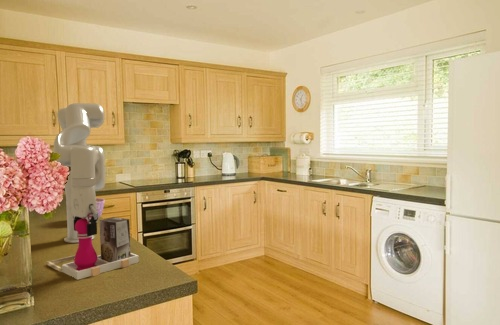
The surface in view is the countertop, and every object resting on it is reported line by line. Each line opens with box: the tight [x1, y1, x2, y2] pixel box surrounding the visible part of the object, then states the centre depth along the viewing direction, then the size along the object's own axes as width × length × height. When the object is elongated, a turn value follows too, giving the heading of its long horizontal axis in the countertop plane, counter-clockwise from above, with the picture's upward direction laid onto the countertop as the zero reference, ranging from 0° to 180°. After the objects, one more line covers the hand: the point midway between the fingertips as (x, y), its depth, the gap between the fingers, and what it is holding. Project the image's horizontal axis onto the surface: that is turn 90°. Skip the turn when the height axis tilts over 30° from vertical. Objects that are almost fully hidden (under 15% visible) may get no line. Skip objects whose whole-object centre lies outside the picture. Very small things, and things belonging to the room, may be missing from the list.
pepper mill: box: [73, 217, 98, 271], centre depth 127 cm, size 7×7×20 cm
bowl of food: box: [90, 197, 106, 219], centre depth 209 cm, size 20×20×12 cm
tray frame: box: [46, 254, 76, 273], centre depth 136 cm, size 11×11×1 cm
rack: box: [61, 252, 140, 280], centre depth 132 cm, size 13×22×2 cm, turn 139°
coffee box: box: [98, 216, 131, 262], centre depth 136 cm, size 9×6×16 cm
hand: (85, 232), depth 129 cm, fingers open, 9 cm apart
